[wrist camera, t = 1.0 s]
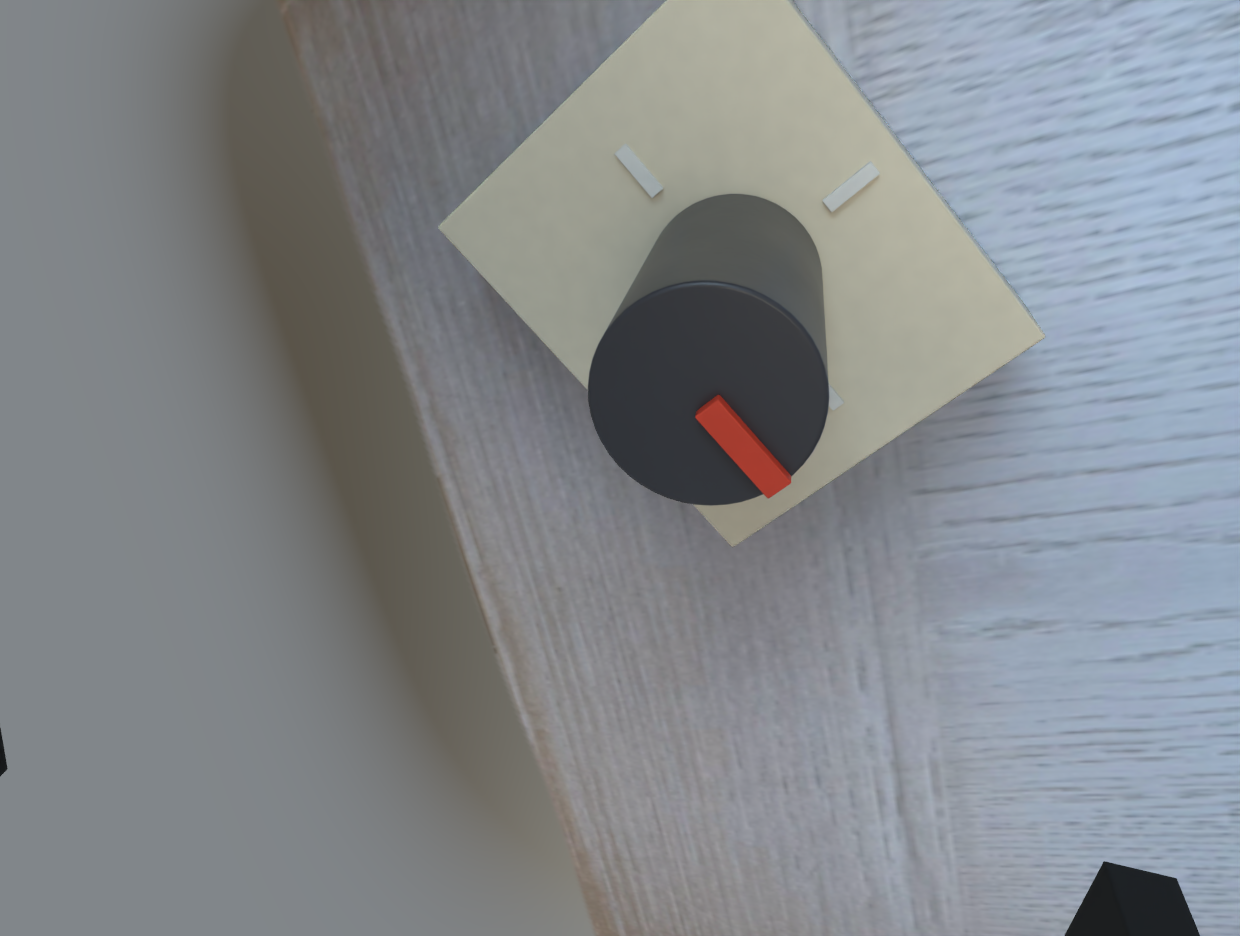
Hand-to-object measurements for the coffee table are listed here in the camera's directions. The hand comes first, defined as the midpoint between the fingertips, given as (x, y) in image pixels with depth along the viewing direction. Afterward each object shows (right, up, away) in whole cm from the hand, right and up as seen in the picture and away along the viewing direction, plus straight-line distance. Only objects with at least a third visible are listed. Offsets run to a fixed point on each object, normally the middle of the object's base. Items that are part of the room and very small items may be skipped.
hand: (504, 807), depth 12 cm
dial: (+4, +9, +14) cm, 17 cm away
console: (+5, +10, +16) cm, 20 cm away
